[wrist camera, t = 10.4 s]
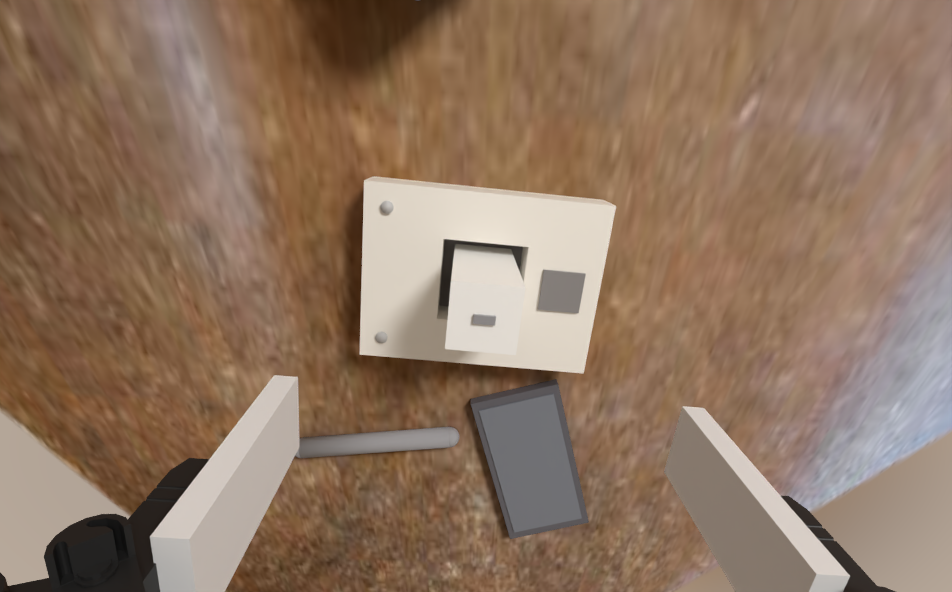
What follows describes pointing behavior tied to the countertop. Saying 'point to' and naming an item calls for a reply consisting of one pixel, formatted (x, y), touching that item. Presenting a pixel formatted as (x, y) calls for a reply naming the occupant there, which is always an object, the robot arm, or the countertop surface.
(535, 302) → the outlet plate
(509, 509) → the phone slab
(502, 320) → the charger block
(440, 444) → the grey rod
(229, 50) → the countertop surface
